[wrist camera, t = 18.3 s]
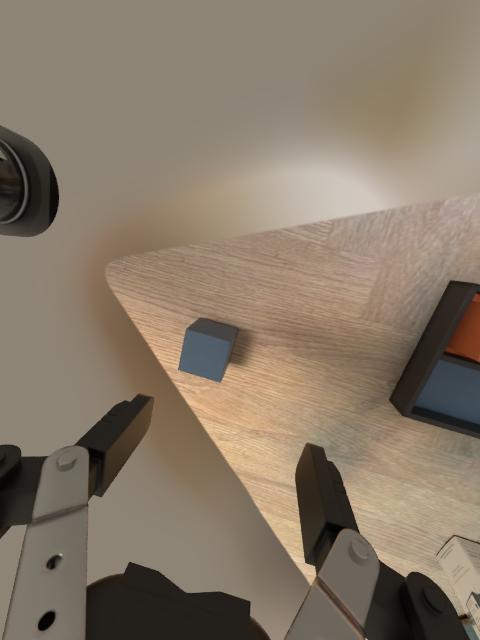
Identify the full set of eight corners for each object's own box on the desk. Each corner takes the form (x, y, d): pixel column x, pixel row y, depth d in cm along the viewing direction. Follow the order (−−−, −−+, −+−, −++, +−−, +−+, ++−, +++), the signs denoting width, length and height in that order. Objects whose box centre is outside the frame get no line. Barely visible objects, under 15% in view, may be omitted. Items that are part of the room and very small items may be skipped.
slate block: (192, 352, 28) (177, 370, 24) (199, 317, 27) (185, 328, 23) (228, 363, 28) (220, 383, 24) (238, 328, 27) (231, 342, 22)
